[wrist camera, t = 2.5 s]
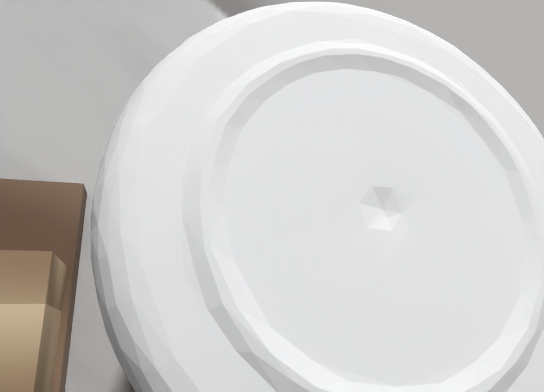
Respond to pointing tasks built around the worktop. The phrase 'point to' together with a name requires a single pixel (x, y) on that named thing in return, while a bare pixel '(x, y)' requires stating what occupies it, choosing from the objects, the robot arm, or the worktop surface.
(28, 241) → the socket
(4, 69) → the worktop surface
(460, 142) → the spice jar
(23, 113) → the worktop surface
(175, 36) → the worktop surface
